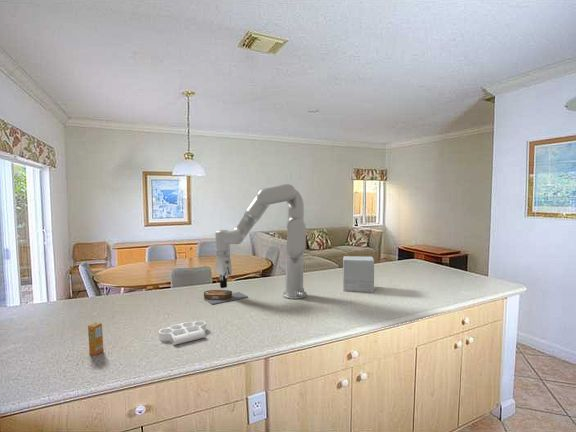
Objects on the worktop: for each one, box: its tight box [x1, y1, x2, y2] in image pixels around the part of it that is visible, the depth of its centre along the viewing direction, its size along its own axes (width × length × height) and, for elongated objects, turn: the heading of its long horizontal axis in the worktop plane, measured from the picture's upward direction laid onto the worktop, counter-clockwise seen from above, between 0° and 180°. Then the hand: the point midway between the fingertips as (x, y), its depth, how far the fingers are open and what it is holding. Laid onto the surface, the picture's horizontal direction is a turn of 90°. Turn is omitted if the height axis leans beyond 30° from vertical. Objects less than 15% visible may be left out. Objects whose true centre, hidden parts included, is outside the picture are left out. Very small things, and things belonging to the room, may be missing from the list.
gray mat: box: [204, 291, 249, 306], centre depth 171 cm, size 10×20×1 cm, turn 126°
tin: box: [203, 289, 233, 300], centre depth 172 cm, size 15×3×8 cm
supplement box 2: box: [342, 255, 375, 293], centre depth 189 cm, size 17×13×18 cm
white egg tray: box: [158, 320, 207, 346], centre depth 125 cm, size 3×18×15 cm
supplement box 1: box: [87, 322, 104, 356], centre depth 111 cm, size 3×3×10 cm
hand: (223, 287), depth 174 cm, fingers closed
